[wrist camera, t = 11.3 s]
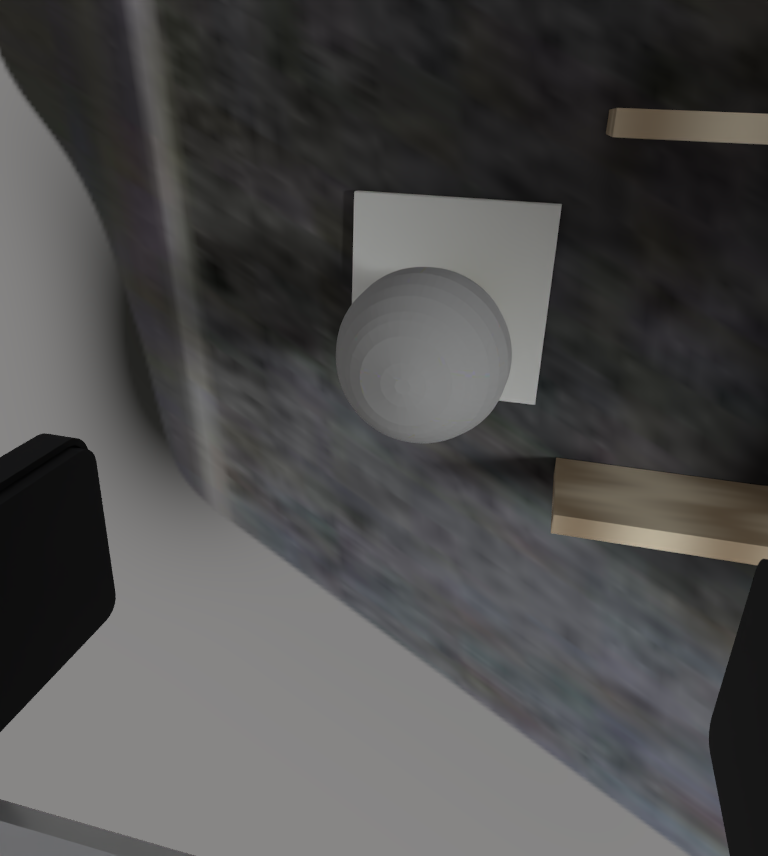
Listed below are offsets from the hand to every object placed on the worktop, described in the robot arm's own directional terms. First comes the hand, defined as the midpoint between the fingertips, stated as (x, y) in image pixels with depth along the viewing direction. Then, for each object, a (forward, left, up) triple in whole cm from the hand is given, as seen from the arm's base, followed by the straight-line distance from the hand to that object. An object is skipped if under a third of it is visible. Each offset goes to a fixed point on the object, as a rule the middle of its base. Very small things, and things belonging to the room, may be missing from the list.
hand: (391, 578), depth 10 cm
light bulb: (+2, +1, -21) cm, 21 cm away
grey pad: (+2, +1, -21) cm, 21 cm away
